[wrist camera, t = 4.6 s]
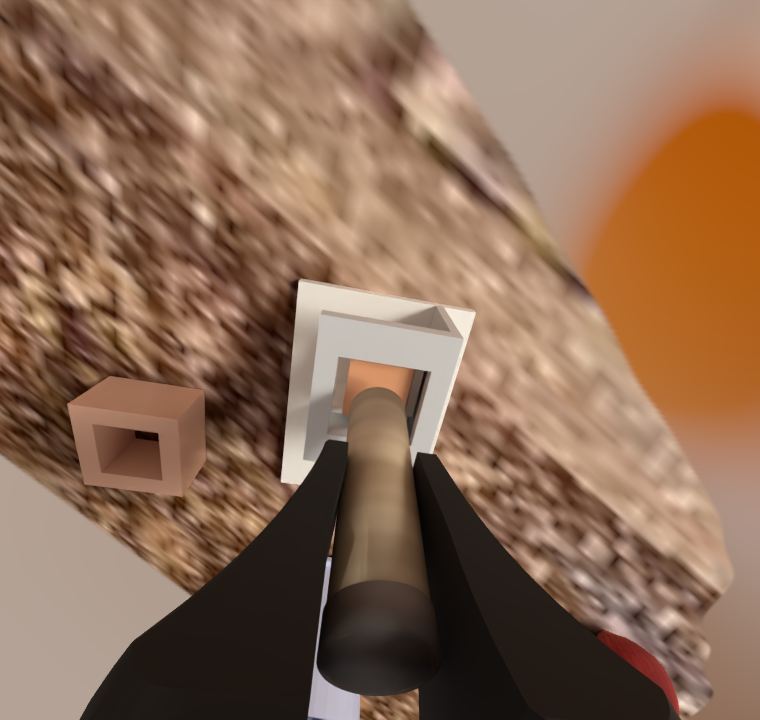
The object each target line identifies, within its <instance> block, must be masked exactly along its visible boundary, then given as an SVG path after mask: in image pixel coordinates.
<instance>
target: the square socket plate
mask: <svg viewBox="0 0 760 720" xmlns="http://www.w3.org/2000/svg"><path fill="white" fill-rule="evenodd" d="M475 314H476V312H475V311H474V310H473V309H467V308H461V307H456V306H450V305H445V304H439V303H434V302H428V301H423V300H417V299H412V298H406V297H401V296H395V295H390V294H384V293H378V292H373V291H367V290H362V289H356V288H351V287H345V286H340V285H334V284H329V283H323V282H318V281H312V280H307V279H300V280H299V284H298V296H297V307H296V318H295V329H294V340H293V351H292V363H291V374H290V385H289V396H288V407H287V418H286V430H285V441H284V452H283V463H282V474H281V482H283V483H291V484H299V485H301V484H302V482H303V481H304V479H305V478H306V476H307V475H308V473H309V472H310V470H311V469H312V467H313V465H314V464H315V462H316V460H317V459H318V457H319V455H320V453H321V451H322V449H323V446H324V444H325V442H326V441H327V440H329V439H331V440H338V441H345V442H346V439H347V431H348V422H349V415H346V414H342V409H343V402H344V396H345V390H346V384H347V378H348V372H349V366H350V360H351V359H357V360H363V361H369V362H375V363H381V364H387V365H393V366H400V367H406V368H412V369H414V373H413V377H412V381H411V385H410V389H409V393H408V397H407V401H406V405H405V416H406V423H407V430H408V438H409V445H410V452H411V459H412V467H413V465H414V462H415V458H416V455H417V452H422V453H429V454H433V450H434V447H435V444H436V441H437V437H438V434H439V431H440V428H441V425H442V421H443V418H444V415H445V412H446V408H447V405H448V402H449V399H450V395H451V392H452V389H453V386H454V382H455V379H456V376H457V373H458V369H459V366H460V363H461V360H462V356H463V353H464V350H465V347H466V343H467V340H468V337H469V334H470V330H471V327H472V324H473V321H474V317H475Z"/></svg>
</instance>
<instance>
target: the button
mask: <svg viewBox="0 0 760 720" xmlns="http://www.w3.org/2000/svg"><path fill="white" fill-rule="evenodd" d="M413 373H414V369H412V368H406V367H400V366H393V365H387V364H381V363H375V362H369V361H363V360H357V359H351V360H350V366H349V372H348V378H347V384H346V390H345V396H344V402H343V409H342V414H346V415H349V414H350V407H351V403H352V401H353V399H354V398H355V396H356V395H357V394H359V393H360V392H361V391H363V390H365V389H368V388H372V387H383V388H387V389H390V390H392V391H393V392H395V393H396V394H397V395H398V396H399V397H400V398H401V399H402V401H403V404H404V409H405V405H406V401H407V397H408V393H409V389H410V385H411V381H412V377H413Z"/></svg>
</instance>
